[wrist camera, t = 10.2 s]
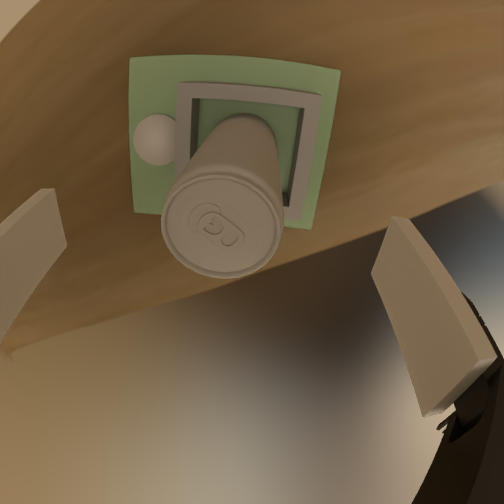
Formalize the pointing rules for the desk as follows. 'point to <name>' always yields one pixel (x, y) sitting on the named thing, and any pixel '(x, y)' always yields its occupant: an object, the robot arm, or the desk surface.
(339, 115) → the desk surface
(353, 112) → the desk surface
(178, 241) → the beverage can
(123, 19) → the desk surface
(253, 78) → the green tray with frame
